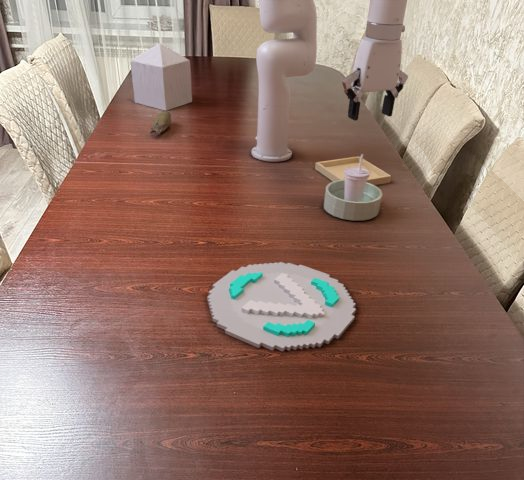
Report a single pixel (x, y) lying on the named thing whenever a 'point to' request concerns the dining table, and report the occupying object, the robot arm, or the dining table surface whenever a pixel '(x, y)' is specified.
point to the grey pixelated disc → (281, 306)
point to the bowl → (352, 202)
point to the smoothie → (355, 182)
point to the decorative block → (161, 78)
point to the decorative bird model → (161, 122)
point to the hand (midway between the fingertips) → (369, 116)
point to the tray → (338, 166)
